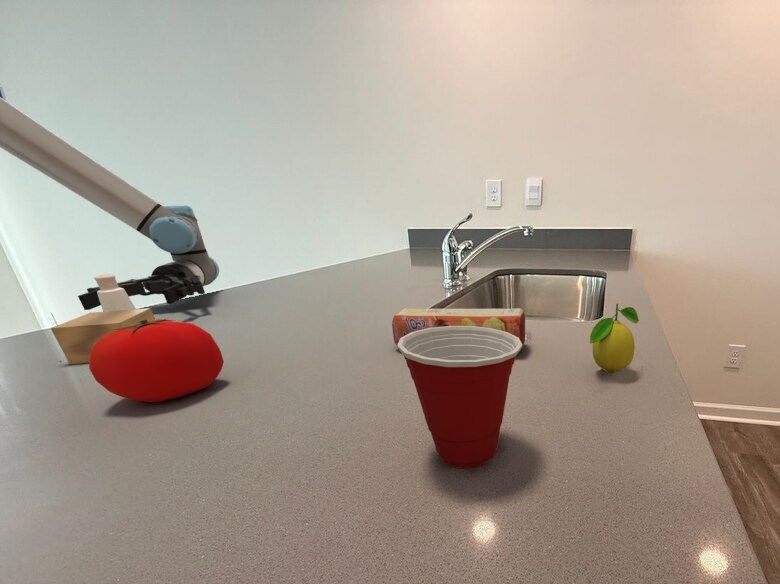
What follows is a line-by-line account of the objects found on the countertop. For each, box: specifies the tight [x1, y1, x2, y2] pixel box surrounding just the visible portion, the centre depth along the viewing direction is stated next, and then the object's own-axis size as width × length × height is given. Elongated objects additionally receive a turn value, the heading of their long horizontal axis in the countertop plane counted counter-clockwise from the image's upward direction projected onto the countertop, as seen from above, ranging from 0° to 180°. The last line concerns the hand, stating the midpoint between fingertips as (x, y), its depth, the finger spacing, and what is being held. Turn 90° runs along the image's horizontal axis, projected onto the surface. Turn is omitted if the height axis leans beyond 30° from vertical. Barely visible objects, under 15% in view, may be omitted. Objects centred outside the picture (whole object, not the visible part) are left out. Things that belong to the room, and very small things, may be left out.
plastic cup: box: [396, 326, 523, 469], centre depth 38 cm, size 11×11×12 cm
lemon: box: [589, 303, 640, 375], centre depth 55 cm, size 7×6×10 cm
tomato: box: [88, 317, 225, 403], centre depth 52 cm, size 11×13×10 cm
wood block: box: [50, 307, 156, 365], centre depth 68 cm, size 9×9×6 cm
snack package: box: [391, 307, 526, 354], centre depth 65 cm, size 21×7×7 cm, turn 79°
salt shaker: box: [93, 273, 137, 312], centre depth 75 cm, size 5×5×11 cm
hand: (125, 299), depth 78 cm, fingers open, 13 cm apart
